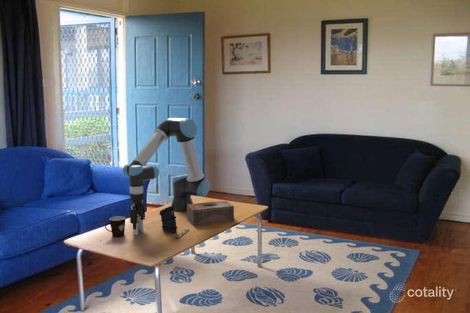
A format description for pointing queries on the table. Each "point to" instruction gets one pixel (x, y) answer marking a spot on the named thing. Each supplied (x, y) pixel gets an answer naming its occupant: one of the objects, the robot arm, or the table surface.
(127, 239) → the table surface
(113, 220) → the coffee mug
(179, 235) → the strip
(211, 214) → the tissue box cover
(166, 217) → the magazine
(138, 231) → the metal flashlight
